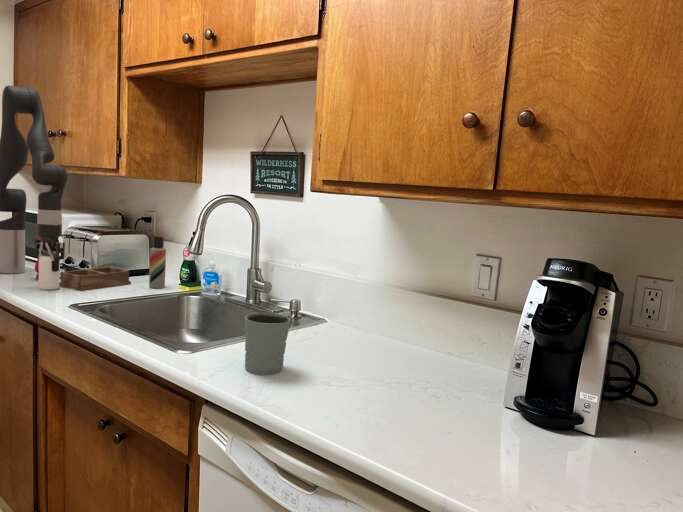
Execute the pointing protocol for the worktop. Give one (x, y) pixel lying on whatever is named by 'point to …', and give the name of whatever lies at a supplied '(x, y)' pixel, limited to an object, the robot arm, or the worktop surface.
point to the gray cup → (265, 342)
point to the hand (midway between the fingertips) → (49, 269)
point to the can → (48, 273)
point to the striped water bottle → (157, 263)
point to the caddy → (94, 278)
